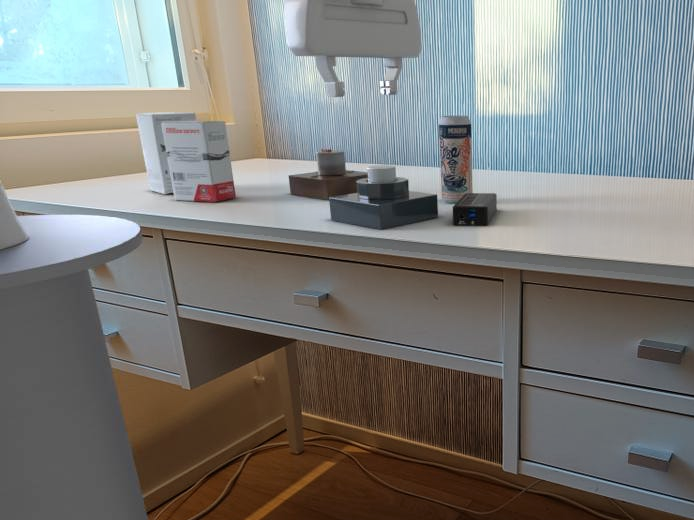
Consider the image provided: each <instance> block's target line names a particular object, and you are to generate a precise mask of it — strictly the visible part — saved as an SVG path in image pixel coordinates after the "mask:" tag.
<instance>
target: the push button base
mask: <svg viewBox="0 0 694 520" xmlns="http://www.w3.org/2000/svg"><path fill="white" fill-rule="evenodd" d="M356 186H357V193H353V194H347V195H340V196H334V197H329V200H328V201H329V202H328V203H329V211H330V212H329V213H330V220H331V221H334V222H338V223H344V224H350V225H355V226H360V227H365V228H369V229H370V228H372V229H376V230H386V229H389V228H395V227H399V226H404V225H408V224H413V223H418V222H423V221H427V220H432V219H437V218H439V203H438V194H436V193H429V192H420V191H414V190H410V188H409V187H410V186H409V179H408V178H406V177H403V176H401V177H400V176H396V181H392V182H368V178H365V179H360V180H357V181H356Z"/></svg>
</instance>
